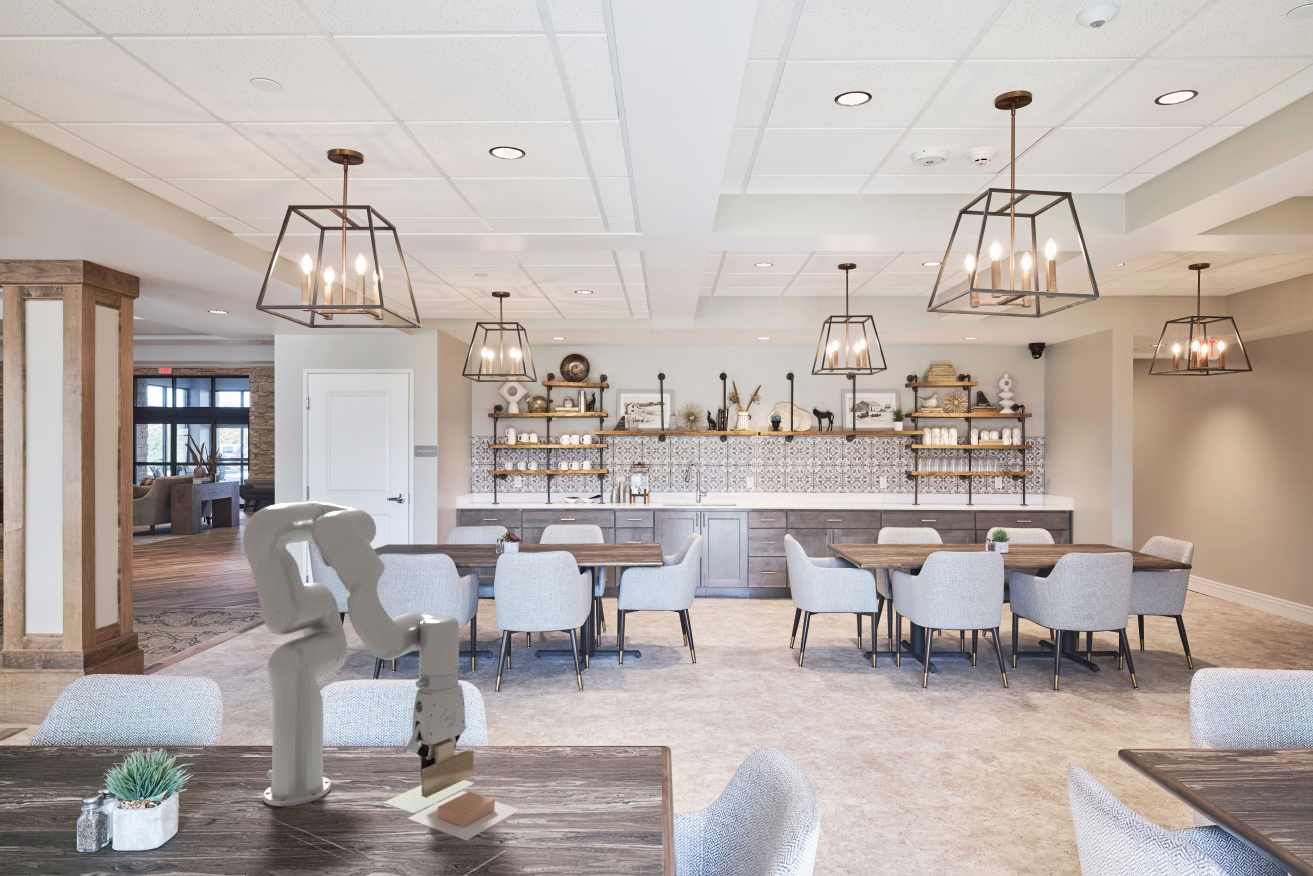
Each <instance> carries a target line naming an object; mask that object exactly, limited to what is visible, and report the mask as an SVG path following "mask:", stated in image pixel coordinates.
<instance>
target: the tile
mask: <svg viewBox="0 0 1313 876" xmlns="http://www.w3.org/2000/svg"><path fill="white" fill-rule="evenodd" d="M466 792H467V793H465V794H463V795H461V796H459V797H457V798H455V799H453V800H451V801H449V802H447V803H445V804H443V805H441V806H439V807H438V818H440V819H443V820H446V821H448V822H451V823H454V824H457V825H460V826H462V827H464V826H466V825H468V824H470V823H472V822H474V821H475V820H477V819H479V818H481V817H483V816H484V815H486V814H488V813H490V812H492V811H494V810H495V802H496V800H495V799H494V798H491V797H488V796H484V795H481V794H479V793H476V792H472V791H466Z"/></svg>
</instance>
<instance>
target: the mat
mask: <svg viewBox="0 0 1313 876" xmlns="http://www.w3.org/2000/svg"><path fill="white" fill-rule="evenodd" d="M467 792H468V791H464V790H461V791H459V792H457V793H455V794H452V795H450V796H448V797H446V798H444V799H442V800H440V801H438V802H436V803H434V804H432V805H430V806H428V807H426V808H424V809H422V810H420V811H418V812H416V813H414V814H413V815H410V816H409V817H407V818H406V819H408V820H409V821H413V822H415V823H418V824H421V825H423V826H426V827H429V828H432V829H434V830H436V831H439V832H441V833H442V832H443V833H445V834H448V835H451V836H453V837H456V838H459V839H461V840H464V841H468V840H471V839H472V838H473V837H475V836H477V835H478V834H481V833H482V832H485V830H487V829H489V828H491V827H493V826H494V825H497V824H498V823H499V822H501V821H503V820H504V819H507V818H509V817H510V816H513V814H515V813H517V812H518V811H521V809H520V808H517V807H514V806H511V805H509V804H505V803H501V802H498V801H495V810H494V811H492V812H490V813H488V814H486V815H484V816H483V817H481V818H479V819H477V820H475V821H474V822H472V823H470V824H468V825H466V826H464V827H462V826H460V825H457V824H454V823H451V822H448V821H446V820H443V819H440V818H438V807H439V806H441V805H443V804H445V803H447V802H449V801H451V800H453V799H455V798H457V797H459V796H461V795H463V794H465V793H467Z"/></svg>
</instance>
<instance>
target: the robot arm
mask: <svg viewBox="0 0 1313 876" xmlns="http://www.w3.org/2000/svg"><path fill="white" fill-rule="evenodd" d="M376 534H377V526H376V522H375V521H374V519H373V517H372V515H370V514H369V513H367V511H365V510H362V509H359V508H353V507H348V506H343V505H342V506H341V505H337V504H334V503H327V502H322V501H321V502H320V501H300V502H285V503H284V502H282V503H276V504H271V505H268V506H265V507H263V508H261V509H259V510H257V511H256V512H255V513H254V514H252V515H251V517H250V518H249V519H248V521H247V523H246V524H245V527H244V530H243V534H242V535H243V536H242V537H243V538H242V539H243V540H242V545H243V551H244V554H245V556H246V558H247V561H248V564H249V566H250V569H251V571H252V575H253V578H254V583H255V589H256V593H257V597H258V602H259V605H260V608H261V613H262V617H263V619H264V620H263V621H264V623H265V627H266V628H267V630H268V631H269V632H270V633H272V634H273V635H275V636H276V635H277V636H286V635H290V634H295V633H297V632H301V631H302V634H303V636H300V637H298V638H295V639H292V640H288V641H287V642H284V643H283V644H281V645H280V646H278V647H277V648H276V649H274V651H273V653H272V654H271V655H270V657H269V659H268V663H267V676H268V680H269V685H270V691H271V700H272V701H271V703H272V707H271V708H272V746H271V747H272V749H271V750H272V751H271V752H272V753H271V755H272V758H271V759H272V762H271V763H272V765H271V768H272V769H269V770H268V771H267V772H266V777H268V778H270V779H271V781H270V782H271V783H270V784H271V785H270V786H268V788H266V789H265V791H264V792H263V794H262V795H263V796H262V797H263V798H262V800H263V801H264V803H265V804H268V805H269V806H274V807H292V806H300V805H304V804H308V803H311V802H314V801H316V800H318V799H320V798H322V797H324V796H325V795H327V794H328V793H329V792H330V791H331V789H332V788H331V787H332V781H331V779H330V778H328V777H326V776H324V700H323V696H322V694H321V691H320V690H319V687H318V684H317V681H318V680H320V679H322V678H325V677H326V676H329V675H331V674H333V673H335V672H337V671H338V670H339V669H341V668H342V667H343V666H344V664H345V663H346V661H347V659H348V658H347V657H348V650H349V649H348V643H347V638H346V637H347V636H346V634H345V630H344V627H343V626H344V625H343V622H342V617H341V613H340V610H339V606H338V603H337V599H336V597H335V596H334V593H333V592H332V591H331V589H330V588H328V587H327V585H324V584H322V583H319V582H306V583H303V579H302V577H301V573H300V568H299V565H298V563H297V560H296V559H295V558H294V556H293V555H292V553H291V552H289V550H288V549H287V545H288V544H294V543H295V544H296V543H302V542H309V541H314V544H315V545H316V547H317V549H318V550H319V551H320V552H321V554H322V555H323V557H324V559H325V560H326V561H327V562H328V564H329V566H330V567H331V569H332V570H333V571H334V573H335V574H336V576H337V577H338V579H339V580H340V582H341V583H342V584H343V586H344V587H345V588H344V589H345V590H346V594H347V595H346V604H347V611H348V617H349V619H350V620H349V621H350V623H351V625H352V629H354V632H355V633H356V634H357V635H358V637H359V639H360V640H361V641H362V643H363V644H364V646H366V648H367V649H368V651H370V653H372V654H373V655H374V656H375V657H377V658H378V659H381V660H384V661H390V660H395V659H397V658H400V657H402V656H404V655H406V654H409V653H412V652H414V651H417V650H419V663H418V664H419V668H418V670H419V671H418V673H419V674H418V676H419V677H418V680H416V682H415V686H416V687H417V688H418V690H416V695H415V699H414V704H413V705H414V706H413V710H412V711H413V713H412V725H411V727H412V728H411V729H412V731H411V733H412V734H411V735H412V736H411V738H410V740H409V742H408V744H407V749H408V750H409V751H412V752H415V754H416V755H418V757H419V758H420V777H421V776H422V769H424V768H427V767H429V766H431V765H434V764H435V759H434V758H432V757H433V750H434V745H435V744H437V743H440V742H443V741H445V740H448V739H451V740H455V741H454V751H455V750H456V749H457V743H458V741H459V739H460V738H461V736H462V735H463V733H464V732H465V730H466V728H467V725H466V709H465V708H466V707H465V697H464V692H463V686H462V683H460V682H459V667H460V666H459V664H460V663H459V661H460V660H459V657H460V654H459V653H460V652H459V651H460V622H459V621H458V619H457V618H455V617H454V616H453V617H452V616H449V615H438V616H437V615H436V616H433V615H429V614H425V613H421V612H417V611H416V612H415V611H413V612H412V611H411V612H407V613H404V614H400V615H398V616H394V617H393V618H391V617H390V615H389V614H388V612H387V611H386V610H385V608H384V606H383V605H382V603H381V601H380V599H379V596H378V595H379V594H378V583H379V580H380V578H381V577H382V575H383V574H384V572H385V568H386V567H385V564H384V561H383V560H382V559H381V557H380V556H379V555H378V553H377V552H376V551H375V550H374V548H373V547H372V545H371V544H372V542H373V541H374V539H375V537H376ZM426 745H428V747H427V750H426Z"/></svg>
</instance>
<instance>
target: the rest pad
mask: <svg viewBox="0 0 1313 876" xmlns="http://www.w3.org/2000/svg"><path fill="white" fill-rule="evenodd" d="M474 784H475V782H472V781H470V780H467V779H465V780H463V781H460V782H458V783H456V784H454V785H452V786H450V787H448V788H446V789H443V790H441V791H439V792H437V793H435V794H433V795H431V796H429V797H427V798H425V797H422V784H421V785H418V786H416V787H414V788H412V789H410V790H407V791H405V792H403V793H401V794H399V795H397V796H395V797H392V798H390V799H387V800H386V801H383V803H384V804H386V805H389V806H391V807H395V808H397V809H401V810H403V811H405V812H407V813H411V814H413V815H414V814H416V813H418V812H420V811H423V810H425V809H427V808H429V807H431V806H433V805H435V804H437V803H439V802H441V801H443V800H445V799H447V798H449V797H451V796H453V795H455V794H457V793H459V792H461V791H464V789H467V788H469V787H471V786H473V785H474Z"/></svg>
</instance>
